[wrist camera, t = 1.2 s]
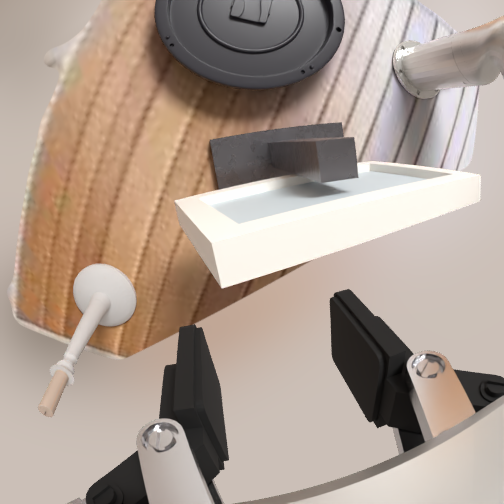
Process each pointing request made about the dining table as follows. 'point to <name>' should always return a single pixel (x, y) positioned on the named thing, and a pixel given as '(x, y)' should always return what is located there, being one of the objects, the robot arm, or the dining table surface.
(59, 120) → the dining table surface
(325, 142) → the frame stand
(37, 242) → the dining table surface
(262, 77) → the round tray
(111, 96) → the dining table surface
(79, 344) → the candlestick
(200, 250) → the picture frame
